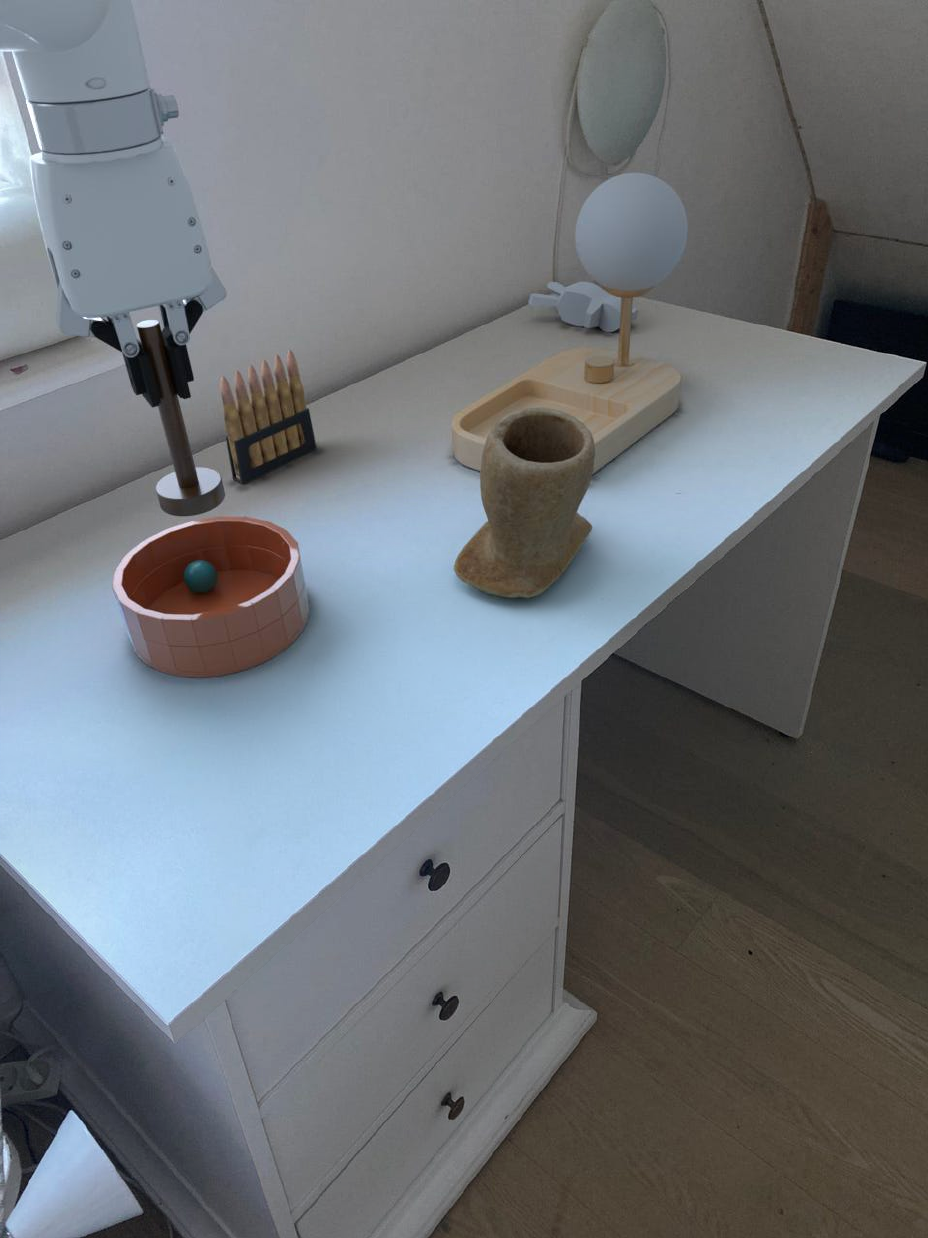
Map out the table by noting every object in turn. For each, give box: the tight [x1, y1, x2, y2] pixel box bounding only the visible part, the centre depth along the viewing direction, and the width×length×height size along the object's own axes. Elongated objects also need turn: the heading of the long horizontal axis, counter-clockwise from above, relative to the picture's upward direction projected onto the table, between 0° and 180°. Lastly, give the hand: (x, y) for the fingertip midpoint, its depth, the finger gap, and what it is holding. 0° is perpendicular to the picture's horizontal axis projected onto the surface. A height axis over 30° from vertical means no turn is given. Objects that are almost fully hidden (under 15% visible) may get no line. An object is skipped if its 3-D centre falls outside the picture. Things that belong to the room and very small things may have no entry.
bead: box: [183, 560, 218, 593], centre depth 86 cm, size 3×3×3 cm
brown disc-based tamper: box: [136, 319, 226, 517], centre depth 72 cm, size 5×5×15 cm
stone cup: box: [453, 407, 595, 599], centre depth 85 cm, size 15×12×15 cm
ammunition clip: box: [220, 349, 317, 485], centre depth 104 cm, size 11×2×12 cm, turn 137°
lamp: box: [451, 172, 689, 475], centre depth 105 cm, size 33×17×25 cm, turn 142°
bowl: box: [111, 516, 310, 678], centre depth 82 cm, size 16×16×6 cm
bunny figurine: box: [527, 280, 639, 333], centre depth 137 cm, size 10×5×15 cm
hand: (166, 394), depth 71 cm, fingers closed on brown disc-based tamper
